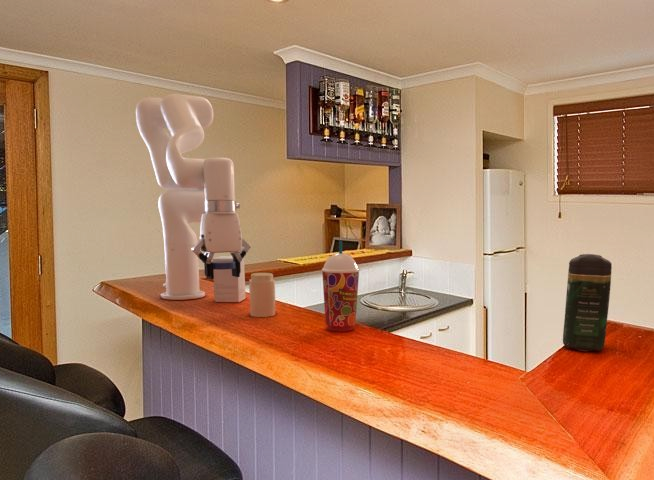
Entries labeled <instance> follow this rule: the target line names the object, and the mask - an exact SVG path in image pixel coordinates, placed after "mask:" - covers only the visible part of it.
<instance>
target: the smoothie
mask: <svg viewBox="0 0 654 480" xmlns="http://www.w3.org/2000/svg"><path fill="white" fill-rule="evenodd" d="M321 272H322V289H323V291H322V292H323V304H324V320H325V325H327V329H328V330H329V331H331V332H337V333H345V332H351V331H352V330H354V325H356V321H357V309H358V308H357V307H358V294H359V293H358V292H359V280H360V279H359V278H360V268H359V267H358V264H357V262H356V260H355V258H353V257H352V256H351V255H349V254H347V253H345V252H343V240H339V241H338V252H336V253H334V254H332V255H330V256H329V257H328V258H327V259H326V261H325V262H324V265H323V267H322V268H321Z"/></svg>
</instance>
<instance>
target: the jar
mask: <svg viewBox="0 0 654 480" xmlns="http://www.w3.org/2000/svg"><path fill="white" fill-rule="evenodd" d="M248 282H249V283H248V284H249V285H248V289H249V315H250V316H251V317H254V318H270V317H274V316H276V313H277V312H276V279H275V278H274V273H272V272H254V273H251V274H250V278H249V279H248Z"/></svg>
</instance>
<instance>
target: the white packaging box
mask: <svg viewBox="0 0 654 480" xmlns="http://www.w3.org/2000/svg"><path fill="white" fill-rule="evenodd" d="M212 261H233V258H232V256H231V255H220V256H217V257H213V258H212ZM240 269H241V272H240V277H234V276H232V269H224V270H216V269H213V270H214V279H213V292H214V294H213V295H214V302H215V303H240V302H242V301H244V300H246V296H247V295H246V274H245V272H246V271H245V256H244V257H243V259H242V261H241V262H240Z"/></svg>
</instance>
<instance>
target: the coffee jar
mask: <svg viewBox="0 0 654 480" xmlns="http://www.w3.org/2000/svg"><path fill="white" fill-rule="evenodd" d="M612 264H613V263H612V262H611V261H610V260H608V259H607V258H605V257H603V256H602V255H600V254H594V253H583V254H579V255H578V256H576V257H573V258H571V259H570V260H569V262H568V269H567V271H568V273H567V283H566V296H565V309H564V310H565V311H564V319H563V320H564V321H563V323H564V324H563V329H562V330H563V332H562V343H563V346H564V347H566V348H567V349H574V350H577V351H579V352H590V351H597V352H599V351H602V350H603V349H604V348H605V344H606V336H607V325H608V315H609V309H610V308H609V306H610V296H611V287H612V286H611V284H612V283H611V282H612V269H613V267H612ZM568 343H569V344H568ZM567 344H568V345H567Z"/></svg>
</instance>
